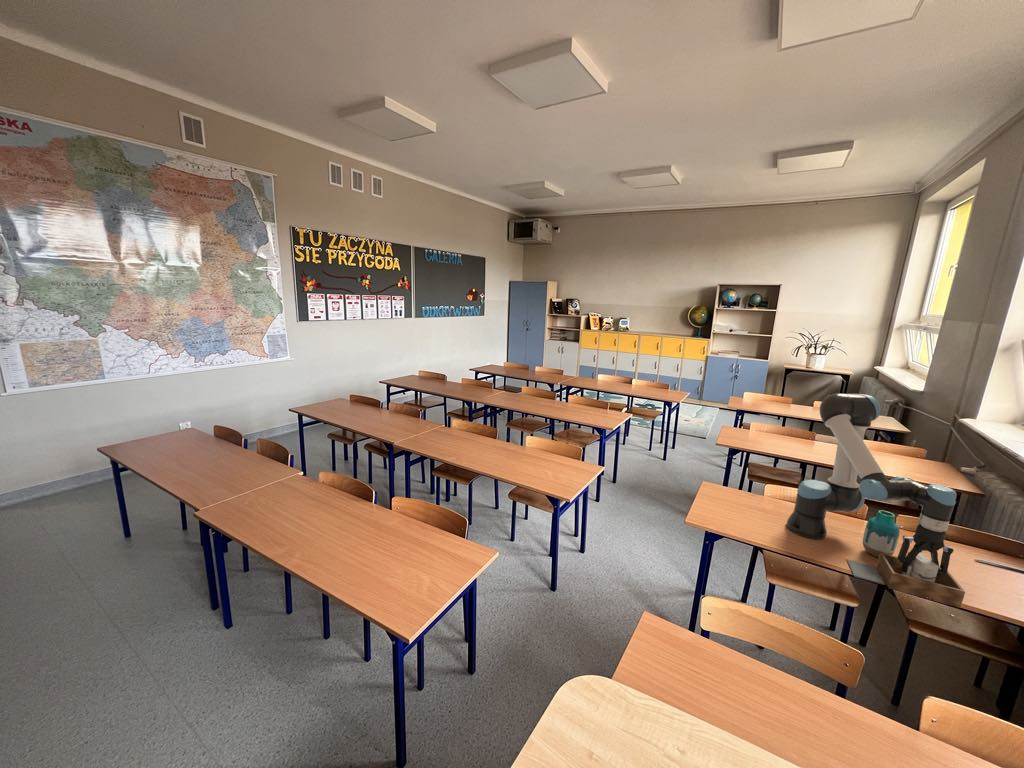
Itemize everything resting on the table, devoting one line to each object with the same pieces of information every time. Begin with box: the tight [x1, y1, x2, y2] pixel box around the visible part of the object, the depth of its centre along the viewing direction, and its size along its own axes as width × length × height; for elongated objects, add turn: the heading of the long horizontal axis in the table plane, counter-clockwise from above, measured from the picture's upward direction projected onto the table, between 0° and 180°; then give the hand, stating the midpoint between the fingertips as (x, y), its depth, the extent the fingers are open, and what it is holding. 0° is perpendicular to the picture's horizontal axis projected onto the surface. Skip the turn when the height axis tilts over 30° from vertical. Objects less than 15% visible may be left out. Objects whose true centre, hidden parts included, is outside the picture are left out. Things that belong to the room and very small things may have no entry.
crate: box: [876, 553, 966, 609], centre depth 156 cm, size 20×15×6 cm
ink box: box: [902, 550, 940, 583], centre depth 156 cm, size 8×5×12 cm, turn 168°
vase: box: [862, 509, 900, 558], centre depth 174 cm, size 11×11×19 cm
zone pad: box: [846, 558, 885, 585], centre depth 164 cm, size 9×12×1 cm
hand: (916, 582), depth 157 cm, fingers closed on ink box, 6 cm apart
